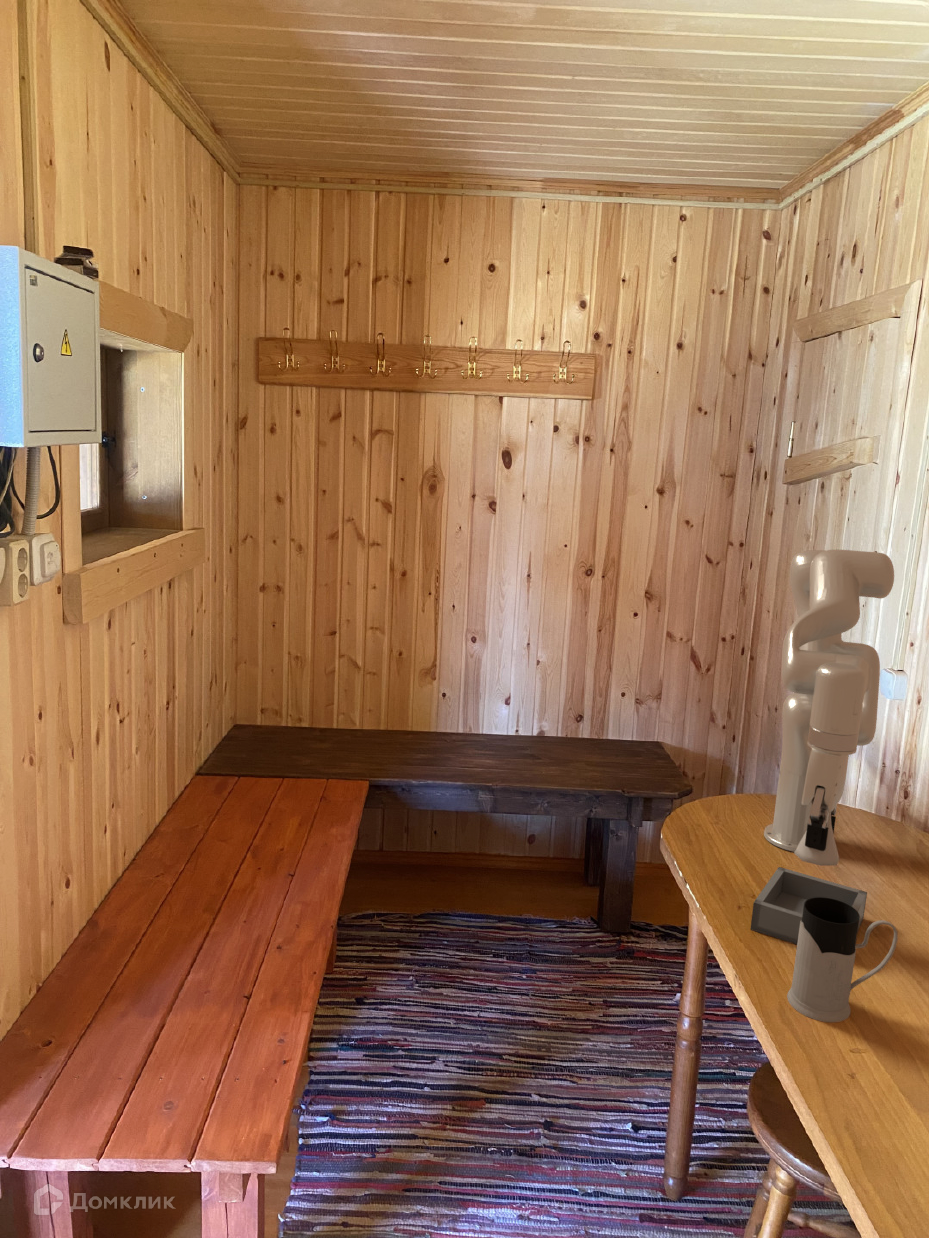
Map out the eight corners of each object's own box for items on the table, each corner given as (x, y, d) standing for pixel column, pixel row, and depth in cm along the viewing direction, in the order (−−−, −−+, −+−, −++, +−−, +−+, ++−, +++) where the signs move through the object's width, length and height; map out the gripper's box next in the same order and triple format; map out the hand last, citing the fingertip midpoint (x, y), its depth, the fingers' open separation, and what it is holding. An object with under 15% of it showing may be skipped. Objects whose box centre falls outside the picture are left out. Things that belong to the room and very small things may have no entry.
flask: (843, 870, 150) (851, 812, 148) (797, 864, 151) (804, 807, 149) (835, 851, 157) (842, 796, 155) (790, 845, 158) (797, 790, 156)
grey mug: (779, 983, 139) (791, 893, 136) (873, 989, 139) (887, 898, 136) (798, 1020, 130) (811, 924, 127) (898, 1026, 130) (914, 930, 127)
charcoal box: (775, 891, 167) (778, 866, 166) (863, 918, 159) (867, 892, 158) (750, 929, 154) (753, 902, 153) (844, 960, 146) (848, 931, 145)
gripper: (820, 721, 159) (807, 820, 162) (796, 747, 145) (782, 854, 148) (866, 731, 155) (852, 831, 158) (846, 758, 141) (831, 867, 144)
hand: (819, 841), depth 153 cm, fingers closed on flask, 4 cm apart
